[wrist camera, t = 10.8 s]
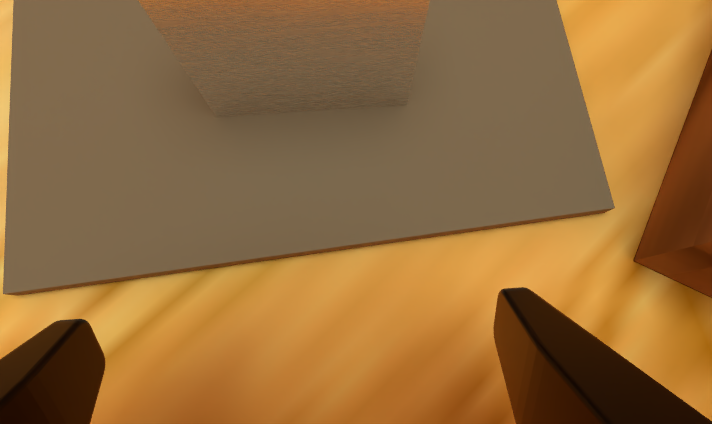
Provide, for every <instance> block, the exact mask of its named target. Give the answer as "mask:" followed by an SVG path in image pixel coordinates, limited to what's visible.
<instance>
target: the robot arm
mask: <svg viewBox="0 0 712 424" xmlns="http://www.w3.org/2000/svg"><path fill="white" fill-rule="evenodd" d="M494 339H495V344H496V348H497V352H498V356H499V359H500V363H501V367H502V371H503V375H504V379H505V382H506V386H507V390H508V394H509V398H510V402H511V405H512V409H513V413H514V417H515V421H516V424H712V421H710V420H709V419H708V418H706V417H705V416H703V415H702V414H701V413H699V412H698V411H697V410H695V409H694V408H692V407H691V406H690V405H688V404H687V403H686V402H684V401H683V400H681V399H680V398H679V397H677V396H676V395H674V394H673V393H672V392H670V391H669V390H668V389H666V388H665V387H663V386H662V385H661V384H659V383H658V382H657V381H655V380H654V379H652V378H651V377H650V376H648V375H647V374H646V373H644V372H643V371H641V370H640V369H639V368H637V367H636V366H635V365H633V364H632V363H630V362H629V361H628V360H626V359H625V358H623V357H622V356H621V355H619V354H618V353H617V352H615V351H614V350H612V349H611V348H610V347H608V346H607V345H606V344H604V343H603V342H601V341H600V340H599V339H597V338H596V337H595V336H593V335H592V334H590V333H589V332H588V331H586V330H585V329H584V328H582V327H581V326H579V325H578V324H577V323H575V322H574V321H572V320H571V319H570V318H568V317H567V316H566V315H564V314H563V313H561V312H560V311H559V310H557V309H556V308H555V307H553V306H552V305H550V304H549V303H548V302H546V301H545V300H544V299H542V298H541V297H539V296H538V295H537V294H535V293H534V292H533V291H531V290H529V289H528V288H523V287H521V288H507V289H502V290H501V291H500V292H499V294H498V298H497V306H496V313H495V321H494ZM104 370H105V357H104V353H103V351H102V349H101V347H100V345H99V343H98V341H97V339H96V336H95V334H94V332H93V330H92V328H91V326H90V324H89V323H88V322H87V321H86V320H83V319H72V320H60V321H56V322H54V323H52V324H51V325H49V326H48V327H47V328H45V329H44V330H42V331H41V332H39V333H38V334H36V335H35V336H34V337H32V338H31V339H29V340H28V341H26V342H25V343H23V344H22V345H20V346H19V347H18V348H16V349H15V350H13V351H12V352H10V353H9V354H7V355H6V356H5V357H3V358H2V359H0V424H90V422H91V418H92V414H93V411H94V407H95V403H96V400H97V396H98V393H99V389H100V385H101V382H102V378H103V375H104Z"/></svg>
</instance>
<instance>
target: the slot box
mask: <svg viewBox="0 0 712 424" xmlns="http://www.w3.org/2000/svg"><path fill="white" fill-rule="evenodd" d="M634 261H635V262H638V263H640V264H642V265H644V266H646V267H648V268H650V269H652V270H655V271H657V272H659V273H661V274H663V275H665V276H667V277H669V278H672V279H674V280H676V281H678V282H680V283H682V284H684V285H686V286H689V287H691V288H693V289H695V290H697V291H699V292H701V293H703V294H706V295H708V296H710V297H712V51H711V54H710V57H709V59H708V62H707V65H706V67H705V70H704V73H703V76H702V78H701V81H700V84H699V86H698V89H697V92H696V94H695V97H694V100H693V103H692V105H691V108H690V111H689V113H688V116H687V119H686V121H685V124H684V127H683V129H682V132H681V135H680V138H679V140H678V143H677V146H676V148H675V151H674V154H673V156H672V159H671V162H670V165H669V167H668V170H667V173H666V175H665V178H664V181H663V183H662V186H661V189H660V191H659V194H658V197H657V200H656V202H655V205H654V208H653V210H652V213H651V216H650V218H649V221H648V224H647V227H646V229H645V232H644V235H643V237H642V240H641V243H640V245H639V248H638V251H637V253H636V256H635V259H634Z"/></svg>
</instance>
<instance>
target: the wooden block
mask: <svg viewBox="0 0 712 424" xmlns="http://www.w3.org/2000/svg"><path fill="white" fill-rule="evenodd" d="M138 1H139V3H140V4H141V6H142V7H143V8H144V10H145V11H146V13H147V14H148V16H149V17H150V19H151V20H152V22H153V23H154V25H155V26H156V28H157V29H158V31H159V32H160V34H161V35H162V37H163V38H164V40H165V41H166V43H167V44H168V46H169V47H170V49H171V50H172V52H173V53H174V55H175V56H176V58H177V59H178V60H179V62H180V63H181V65H182V66H183V68H184V69H185V71H186V72H187V74H188V75H189V77H190V78H191V80H192V81H193V83H194V84H195V86H196V87H197V89H198V90H199V92H200V93H201V95H202V96H203V98H204V99H205V101H206V102H207V104H208V105H209V107H210V108H211V109H212V111H213V112H214V114H215V115H216V117H222V116H238V115H254V114H270V113H287V112H303V111H319V110H335V109H351V108H368V107H384V106H400V105H407V103H408V98H409V94H410V89H411V85H412V80H413V75H414V71H415V66H416V62H417V57H418V52H419V48H420V43H421V39H422V34H423V29H424V25H425V20H426V16H427V11H428V6H429V2H430V0H138Z"/></svg>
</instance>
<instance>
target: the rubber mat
mask: <svg viewBox="0 0 712 424" xmlns="http://www.w3.org/2000/svg"><path fill="white" fill-rule="evenodd" d="M613 208H615V207H614V204H613V200H612V196H611V193H610V189H609V186H608V182H607V179H606V175H605V172H604V168H603V164H602V161H601V157H600V154H599V150H598V147H597V143H596V140H595V136H594V132H593V129H592V125H591V122H590V118H589V115H588V111H587V108H586V104H585V100H584V97H583V93H582V90H581V86H580V83H579V79H578V76H577V72H576V68H575V65H574V61H573V58H572V54H571V51H570V47H569V44H568V40H567V36H566V33H565V29H564V26H563V22H562V19H561V15H560V12H559V8H558V4H557V1H556V0H430V2H429V6H428V11H427V16H426V20H425V25H424V29H423V34H422V39H421V43H420V48H419V52H418V57H417V62H416V66H415V71H414V75H413V80H412V85H411V89H410V94H409V98H408V103H407V105H400V106H384V107H368V108H351V109H335V110H319V111H303V112H287V113H270V114H254V115H238V116H222V117H216V115H215V114H214V112H213V111H212V109H211V108H210V107H209V105H208V104H207V102H206V101H205V99H204V98H203V96H202V95H201V93H200V92H199V90H198V89H197V87H196V86H195V84H194V83H193V81H192V80H191V78H190V77H189V75H188V74H187V72H186V71H185V69H184V68H183V66H182V65H181V63H180V62H179V60H178V59H177V58H176V56H175V55H174V53H173V52H172V50H171V49H170V47H169V46H168V44H167V43H166V41H165V40H164V38H163V37H162V35H161V34H160V32H159V31H158V29H157V28H156V26H155V25H154V23H153V22H152V20H151V19H150V17H149V16H148V14H147V13H146V11H145V10H144V8H143V7H142V6H141V4H140V3H139V1H138V0H14V5H13V33H12V60H11V88H10V115H9V143H8V170H7V198H6V226H5V253H4V281H3V294H8V295H24V294H31V293H38V292H45V291H52V290H60V289H67V288H74V287H81V286H88V285H95V284H102V283H109V282H116V281H123V280H130V279H138V278H145V277H152V276H159V275H166V274H173V273H180V272H187V271H194V270H201V269H208V268H216V267H223V266H230V265H237V264H244V263H251V262H258V261H265V260H272V259H279V258H286V257H294V256H301V255H308V254H315V253H322V252H329V251H336V250H343V249H350V248H357V247H364V246H372V245H379V244H386V243H393V242H400V241H407V240H414V239H421V238H428V237H435V236H443V235H450V234H457V233H464V232H471V231H478V230H485V229H492V228H499V227H506V226H513V225H521V224H528V223H535V222H542V221H549V220H556V219H563V218H570V217H577V216H584V215H591V214H599V213H605V212H607V211H609V210H611V209H613Z"/></svg>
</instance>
